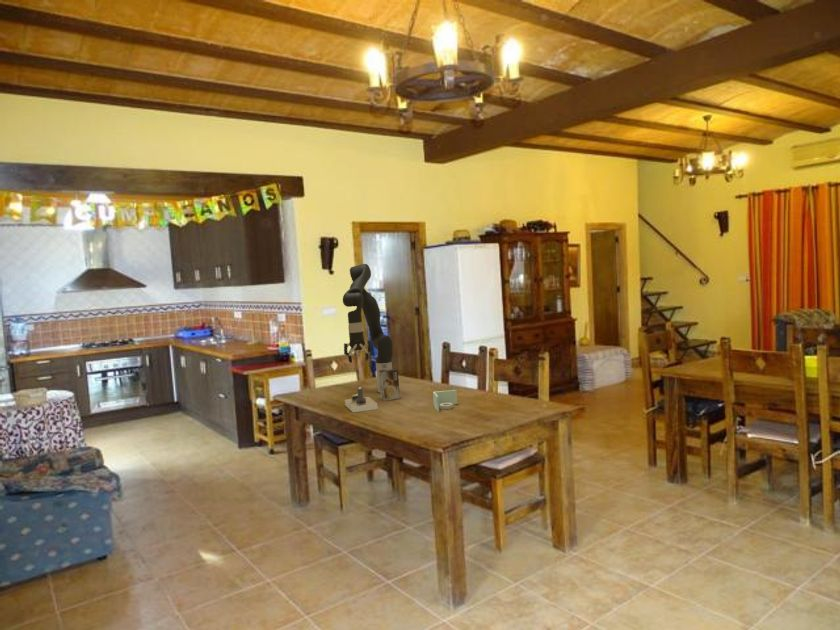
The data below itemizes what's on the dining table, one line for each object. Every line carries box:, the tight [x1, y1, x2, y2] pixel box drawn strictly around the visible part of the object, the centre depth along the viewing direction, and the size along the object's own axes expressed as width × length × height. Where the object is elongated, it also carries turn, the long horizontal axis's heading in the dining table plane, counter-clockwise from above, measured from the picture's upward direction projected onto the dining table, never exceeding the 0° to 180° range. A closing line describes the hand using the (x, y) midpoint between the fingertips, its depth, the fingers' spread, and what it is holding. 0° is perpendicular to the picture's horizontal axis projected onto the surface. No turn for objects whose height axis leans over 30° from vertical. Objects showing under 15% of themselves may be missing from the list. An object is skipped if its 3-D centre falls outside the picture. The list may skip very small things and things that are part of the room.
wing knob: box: [356, 385, 366, 403], centre depth 312 cm, size 8×5×8 cm, turn 4°
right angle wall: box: [432, 389, 458, 413], centre depth 302 cm, size 12×12×8 cm
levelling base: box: [344, 393, 378, 413], centre depth 314 cm, size 13×18×6 cm
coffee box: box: [379, 368, 401, 402], centre depth 329 cm, size 9×6×16 cm
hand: (358, 361), depth 315 cm, fingers open, 8 cm apart
